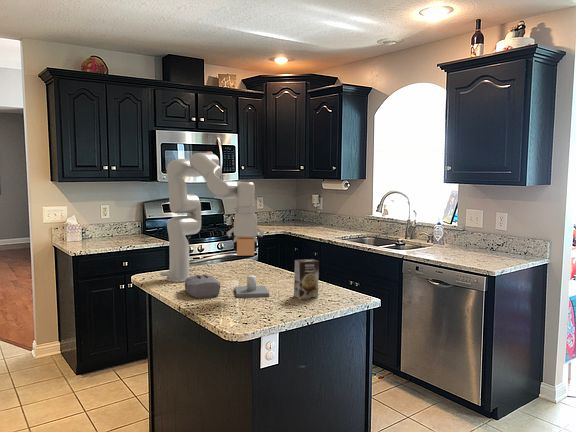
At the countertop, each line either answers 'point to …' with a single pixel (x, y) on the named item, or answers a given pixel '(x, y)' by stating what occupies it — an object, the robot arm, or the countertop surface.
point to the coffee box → (306, 278)
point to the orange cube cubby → (245, 246)
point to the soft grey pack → (202, 286)
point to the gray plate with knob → (251, 289)
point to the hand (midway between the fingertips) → (245, 250)
